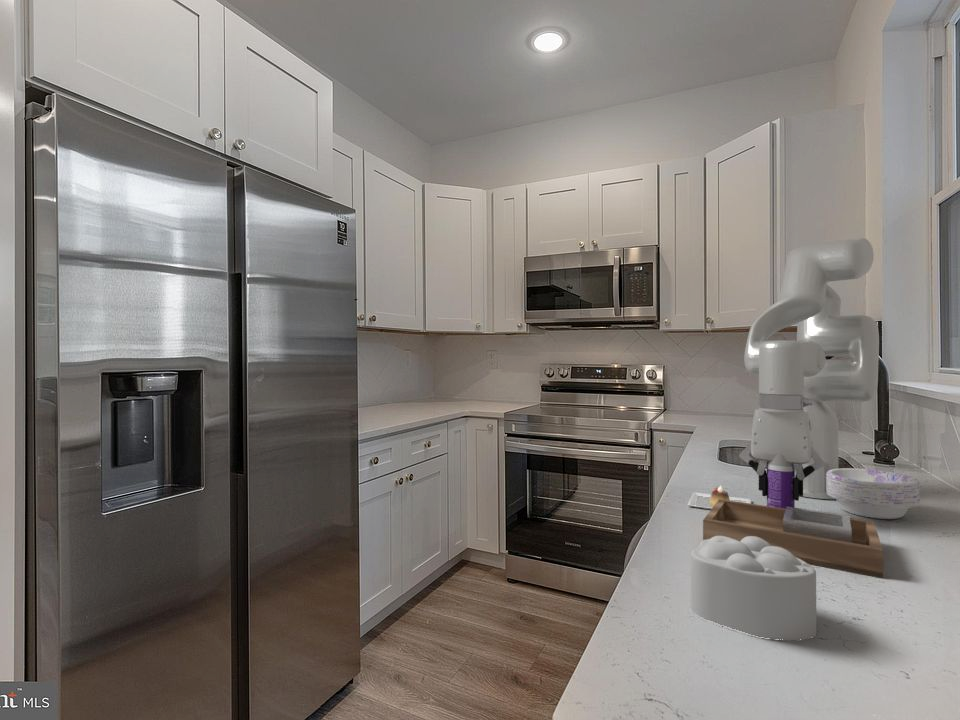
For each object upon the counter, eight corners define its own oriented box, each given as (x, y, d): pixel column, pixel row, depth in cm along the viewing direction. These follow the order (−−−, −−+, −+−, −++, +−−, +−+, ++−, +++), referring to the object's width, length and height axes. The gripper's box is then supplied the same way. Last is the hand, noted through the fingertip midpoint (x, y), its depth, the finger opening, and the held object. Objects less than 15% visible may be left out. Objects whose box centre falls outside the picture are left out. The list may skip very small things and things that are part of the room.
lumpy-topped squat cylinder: (706, 586, 69) (706, 524, 69) (819, 616, 62) (819, 545, 62) (684, 616, 61) (684, 545, 61) (812, 655, 53) (812, 573, 53)
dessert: (692, 496, 118) (693, 476, 118) (751, 504, 112) (751, 482, 112) (687, 510, 107) (687, 487, 107) (751, 518, 101) (751, 495, 101)
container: (798, 525, 95) (798, 446, 95) (771, 523, 96) (771, 445, 96) (788, 518, 100) (789, 442, 100) (763, 516, 101) (763, 441, 101)
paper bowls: (809, 507, 108) (809, 470, 108) (854, 499, 114) (854, 464, 114) (891, 529, 94) (891, 486, 94) (936, 519, 100) (936, 479, 100)
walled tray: (719, 519, 99) (719, 499, 99) (873, 545, 85) (873, 521, 85) (703, 543, 86) (703, 520, 86) (882, 578, 72) (882, 550, 72)
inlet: (786, 531, 90) (786, 506, 90) (849, 542, 84) (849, 515, 84) (783, 547, 82) (783, 519, 82) (851, 559, 77) (851, 530, 77)
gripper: (833, 404, 97) (833, 499, 97) (735, 400, 106) (735, 486, 106) (834, 407, 90) (833, 508, 90) (729, 402, 100) (729, 494, 100)
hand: (780, 495), depth 98 cm, fingers closed on container, 4 cm apart
